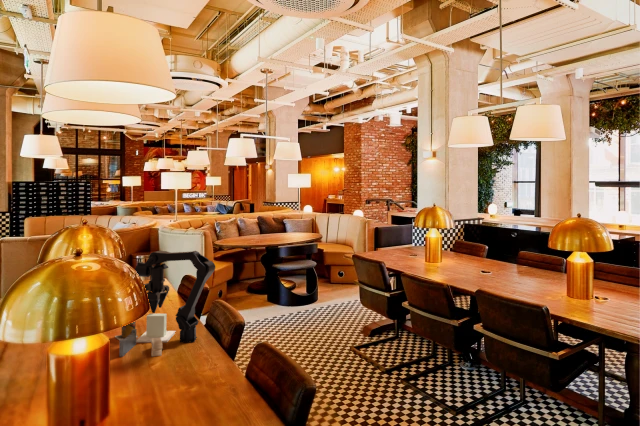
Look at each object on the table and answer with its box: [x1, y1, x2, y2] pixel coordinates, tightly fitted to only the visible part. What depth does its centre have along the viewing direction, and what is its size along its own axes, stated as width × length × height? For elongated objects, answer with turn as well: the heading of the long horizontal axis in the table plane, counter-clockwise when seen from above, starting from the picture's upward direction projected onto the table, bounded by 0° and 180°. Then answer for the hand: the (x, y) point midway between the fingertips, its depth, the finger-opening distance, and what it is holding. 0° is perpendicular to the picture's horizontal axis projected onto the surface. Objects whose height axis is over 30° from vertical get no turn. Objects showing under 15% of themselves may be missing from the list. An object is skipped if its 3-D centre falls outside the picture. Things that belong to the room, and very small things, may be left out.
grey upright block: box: [145, 312, 168, 337], centre depth 199 cm, size 8×4×10 cm, turn 93°
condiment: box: [114, 320, 139, 342], centre depth 198 cm, size 7×8×12 cm
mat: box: [136, 330, 177, 343], centre depth 199 cm, size 14×14×1 cm
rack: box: [118, 328, 138, 358], centre depth 182 cm, size 2×14×7 cm, turn 3°
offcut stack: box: [151, 338, 163, 357], centre depth 181 cm, size 4×10×5 cm, turn 21°
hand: (156, 310), depth 199 cm, fingers open, 9 cm apart
